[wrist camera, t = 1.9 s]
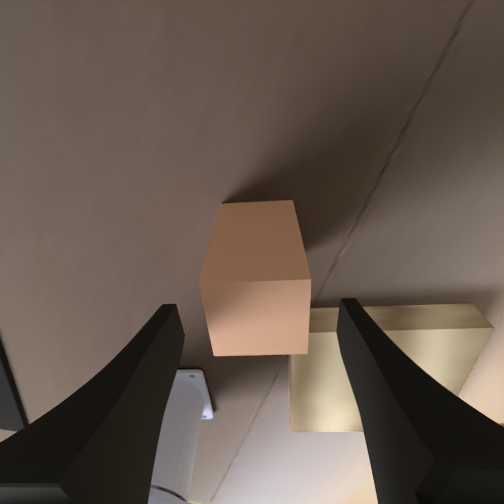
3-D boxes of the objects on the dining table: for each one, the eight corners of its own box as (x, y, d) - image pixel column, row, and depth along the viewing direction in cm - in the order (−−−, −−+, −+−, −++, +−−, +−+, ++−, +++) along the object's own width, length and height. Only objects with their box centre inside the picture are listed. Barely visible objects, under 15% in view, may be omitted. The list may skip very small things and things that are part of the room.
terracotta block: (228, 262, 21) (213, 356, 14) (221, 203, 19) (198, 283, 12) (292, 259, 21) (307, 354, 14) (292, 199, 18) (311, 279, 12)
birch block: (288, 402, 31) (290, 432, 29) (288, 304, 24) (291, 333, 21) (423, 400, 30) (438, 431, 28) (468, 298, 23) (494, 327, 20)
